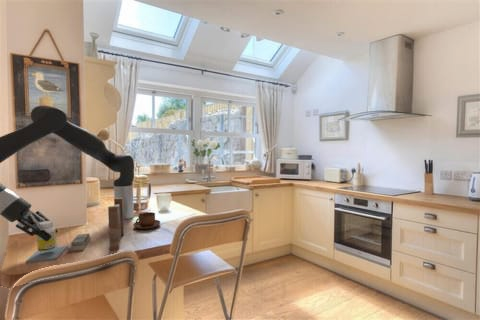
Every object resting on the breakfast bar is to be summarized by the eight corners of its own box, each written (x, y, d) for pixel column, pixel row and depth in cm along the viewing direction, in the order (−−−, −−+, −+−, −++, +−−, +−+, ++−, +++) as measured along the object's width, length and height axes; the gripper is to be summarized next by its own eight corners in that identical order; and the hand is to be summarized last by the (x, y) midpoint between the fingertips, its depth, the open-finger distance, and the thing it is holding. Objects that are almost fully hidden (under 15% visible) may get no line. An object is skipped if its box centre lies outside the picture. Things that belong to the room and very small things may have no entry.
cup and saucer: (152, 231, 121) (151, 218, 121) (127, 230, 123) (127, 217, 123) (165, 224, 133) (164, 211, 132) (142, 222, 135) (142, 210, 135)
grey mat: (39, 250, 100) (39, 249, 100) (67, 247, 103) (67, 246, 103) (25, 262, 90) (25, 261, 90) (57, 259, 93) (57, 257, 93)
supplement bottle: (44, 247, 99) (42, 220, 98) (59, 246, 99) (58, 220, 99) (34, 253, 94) (32, 224, 93) (50, 252, 94) (49, 224, 93)
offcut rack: (78, 239, 112) (76, 200, 111) (123, 234, 117) (122, 197, 116) (65, 255, 96) (63, 210, 95) (118, 249, 101) (117, 206, 100)
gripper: (8, 201, 86) (54, 234, 91) (28, 193, 100) (67, 222, 104) (-12, 219, 85) (36, 252, 89) (11, 208, 99) (51, 237, 103)
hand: (52, 236), depth 97 cm, fingers closed on supplement bottle, 5 cm apart
